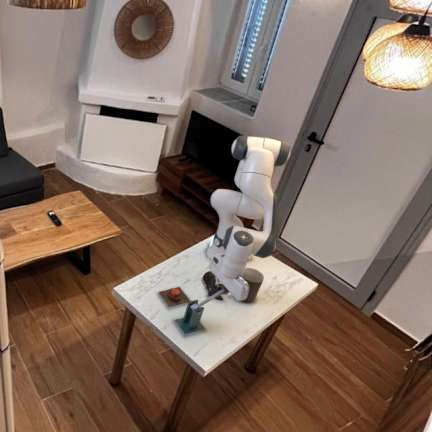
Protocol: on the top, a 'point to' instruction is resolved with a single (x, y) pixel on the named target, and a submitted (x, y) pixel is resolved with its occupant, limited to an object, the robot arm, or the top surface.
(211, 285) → the gaming controller
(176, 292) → the button
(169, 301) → the control block
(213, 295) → the lever
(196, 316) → the bracket
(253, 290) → the pillar candle
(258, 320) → the top surface
